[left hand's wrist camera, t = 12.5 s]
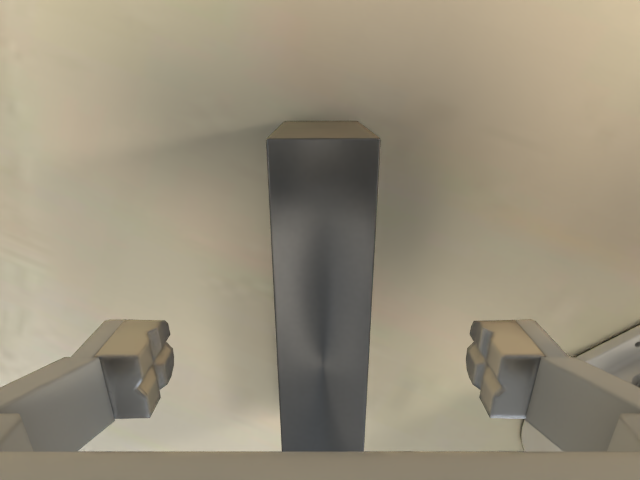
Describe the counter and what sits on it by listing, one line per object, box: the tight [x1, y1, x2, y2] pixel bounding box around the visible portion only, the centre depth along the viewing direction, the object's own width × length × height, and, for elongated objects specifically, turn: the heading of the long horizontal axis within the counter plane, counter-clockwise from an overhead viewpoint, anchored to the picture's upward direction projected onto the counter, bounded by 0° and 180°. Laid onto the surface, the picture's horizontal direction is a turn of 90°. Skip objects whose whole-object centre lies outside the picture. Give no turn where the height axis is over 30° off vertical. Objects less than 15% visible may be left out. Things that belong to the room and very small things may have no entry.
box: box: [266, 121, 380, 452], centre depth 30 cm, size 28×6×11 cm, turn 0°
